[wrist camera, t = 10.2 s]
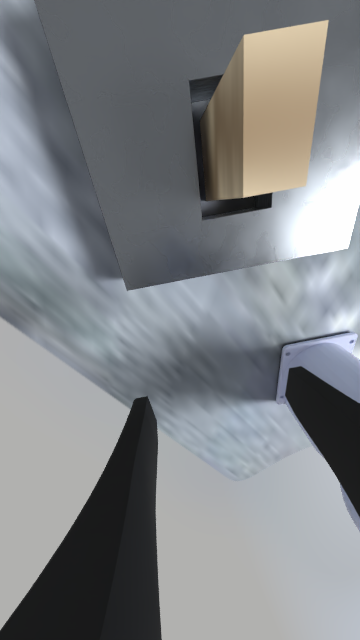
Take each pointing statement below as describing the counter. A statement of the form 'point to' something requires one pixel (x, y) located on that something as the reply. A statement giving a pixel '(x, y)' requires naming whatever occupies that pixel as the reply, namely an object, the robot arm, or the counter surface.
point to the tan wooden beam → (264, 114)
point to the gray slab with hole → (178, 134)
